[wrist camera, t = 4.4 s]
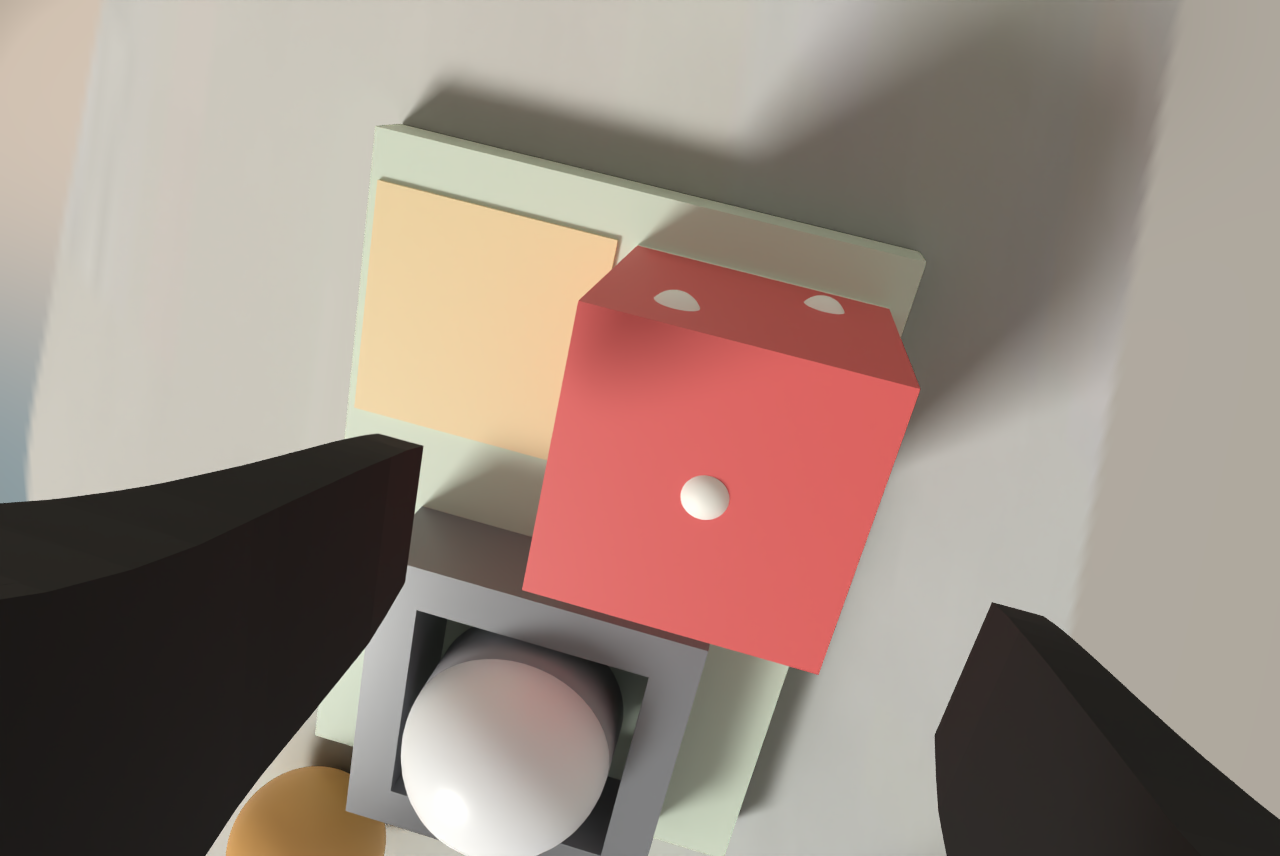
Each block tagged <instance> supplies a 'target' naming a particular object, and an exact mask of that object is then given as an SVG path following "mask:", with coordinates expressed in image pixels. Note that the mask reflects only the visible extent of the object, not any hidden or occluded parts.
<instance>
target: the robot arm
mask: <svg viewBox="0 0 1280 856" xmlns="http://www.w3.org/2000/svg"><path fill="white" fill-rule="evenodd" d="M423 447H424V446H422V445H419V444H415V443H411V442H408V441H404V440H400V439H397V438H393V437H390V436H386V435H382V434H379V433H378V434H369V435H363V436H357V437H353V438H348V439H344V440H340V441H335V442H331V443H328V444H324V445H320V446H316V447H312V448H308V449H305V450H301V451H297V452H293V453H289V454H285V455H282V456H278V457H274V458H270V459H266V460H262V461H259V462H255V463H251V464H247V465H243V466H238V467H234V468H229V469H225V470H220V471H216V472H211V473H207V474H202V475H198V476H193V477H189V478H184V479H180V480H175V481H171V482H166V483H161V484H155V485H150V486H145V487H139V488H133V489H126V490H120V491H114V492H106V493H99V494H92V495H84V496H77V497H70V498H61V499H52V500H41V501H27V502H14V503H0V856H205V855H206V854H207V852H208V851H209V849H210V848H211V846H212V845H213V843H214V842H215V840H216V839H217V837H218V836H219V834H220V833H221V831H222V830H223V828H224V827H225V825H226V824H227V822H228V821H229V819H230V818H231V816H232V815H233V813H234V812H235V810H236V809H237V807H238V806H239V804H240V803H241V802H242V800H243V799H244V798H245V796H246V795H247V794H248V792H249V791H250V790H251V788H252V787H253V786H254V784H255V783H256V782H257V780H258V779H259V778H260V776H261V775H262V774H263V773H264V772H265V770H266V769H267V768H268V767H269V765H270V764H271V763H272V762H273V761H274V759H275V758H276V757H277V756H278V754H279V753H280V752H281V751H282V750H283V748H284V747H285V746H286V745H287V744H288V742H289V741H290V740H291V739H292V737H293V736H294V735H295V734H296V733H297V731H298V730H299V729H300V728H301V726H302V725H303V724H304V723H305V722H306V720H307V719H308V718H309V717H310V716H311V714H312V713H313V712H314V711H315V709H316V708H317V707H318V706H319V705H320V703H321V702H322V701H323V700H324V699H325V697H326V696H327V695H328V694H329V692H330V691H331V690H332V689H333V688H334V686H335V685H336V684H337V683H338V681H339V680H340V679H341V678H342V676H343V675H344V674H345V673H346V671H347V670H348V669H349V668H350V666H351V665H352V664H353V663H354V661H355V660H356V659H357V658H358V656H359V655H360V654H361V653H362V651H363V650H364V649H365V648H366V646H367V645H368V644H369V642H370V641H371V639H372V637H373V636H374V634H375V633H376V631H377V629H378V628H379V626H380V625H381V623H382V621H383V620H384V618H385V617H386V615H387V613H388V611H389V610H390V608H391V606H392V605H393V603H394V601H395V599H396V598H397V596H398V594H399V592H400V591H401V589H402V587H403V586H404V584H405V580H406V573H407V565H408V558H409V550H410V543H411V536H412V528H413V521H414V513H415V506H416V499H417V491H418V484H419V477H420V469H421V462H422V454H423ZM935 759H936V783H937V798H938V811H939V817H940V823H941V828H942V834H943V839H944V844H945V849H946V854H947V856H1280V819H1278V818H1277V817H1276V816H1274V815H1273V814H1272V813H1271V812H1269V811H1268V810H1267V809H1266V808H1264V807H1263V806H1262V805H1260V804H1259V803H1258V802H1257V801H1255V800H1254V799H1253V798H1252V797H1251V796H1249V795H1248V794H1247V793H1246V792H1245V791H1243V790H1242V789H1241V788H1240V787H1239V786H1237V785H1236V784H1235V783H1234V782H1233V781H1231V780H1230V779H1229V778H1228V777H1227V776H1225V775H1224V774H1223V773H1222V772H1221V771H1219V770H1218V769H1217V768H1216V767H1215V766H1213V765H1212V764H1211V763H1210V762H1209V761H1207V760H1206V759H1205V758H1204V757H1203V756H1202V755H1201V754H1199V753H1198V752H1197V751H1196V750H1195V749H1194V748H1193V747H1191V746H1190V745H1189V744H1188V743H1187V742H1186V741H1185V740H1183V739H1182V738H1181V737H1180V736H1179V735H1178V734H1177V733H1175V732H1174V731H1173V730H1172V729H1171V728H1170V727H1169V726H1168V725H1167V724H1165V723H1164V722H1163V721H1162V720H1161V719H1160V718H1159V717H1158V716H1157V715H1155V714H1154V713H1153V712H1152V711H1151V710H1150V709H1149V708H1148V707H1147V706H1146V705H1145V704H1143V703H1142V702H1141V701H1140V700H1139V699H1138V698H1137V697H1136V696H1135V695H1134V694H1132V693H1131V692H1130V691H1129V690H1128V689H1127V688H1126V687H1125V686H1124V685H1123V684H1122V683H1121V682H1120V681H1118V680H1117V679H1116V678H1115V677H1114V676H1113V675H1112V674H1111V673H1110V672H1109V671H1108V670H1107V669H1105V668H1104V667H1103V666H1102V665H1101V664H1100V663H1099V662H1098V661H1097V660H1096V659H1094V658H1093V657H1092V656H1091V655H1090V654H1089V653H1088V652H1087V651H1086V650H1085V649H1083V648H1082V647H1081V646H1080V645H1079V644H1078V643H1077V642H1076V641H1074V640H1073V639H1072V638H1071V637H1070V636H1069V635H1067V634H1066V633H1065V632H1064V631H1063V630H1061V629H1060V628H1059V627H1058V626H1056V625H1055V624H1054V623H1052V622H1051V621H1049V620H1048V619H1047V618H1045V617H1044V616H1040V615H1037V614H1033V613H1029V612H1026V611H1022V610H1019V609H1015V608H1011V607H1008V606H1004V605H1000V604H997V603H993V602H992V604H991V606H990V608H989V611H988V613H987V615H986V618H985V620H984V622H983V625H982V627H981V629H980V632H979V634H978V636H977V639H976V641H975V643H974V645H973V648H972V650H971V652H970V655H969V657H968V659H967V662H966V664H965V666H964V669H963V671H962V673H961V676H960V678H959V680H958V682H957V685H956V687H955V689H954V692H953V694H952V696H951V699H950V701H949V703H948V706H947V708H946V710H945V713H944V715H943V717H942V719H941V722H940V724H939V726H938V729H937V731H936V733H935Z"/></svg>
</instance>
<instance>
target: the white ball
mask: <svg viewBox="0 0 1280 856" xmlns="http://www.w3.org/2000/svg"><path fill="white" fill-rule="evenodd" d="M622 722H623V700H622V695H621V691H620V688H619V685H618V682H617V680H616V678H615V676H614V674H613V672H612V671H611V669H610V667H609V666H607V665H604V664H601V663H597V662H594V661H590V660H587V659H583V658H580V657H576V656H573V655H570V654H566V653H563V652H559V651H556V650H552V649H549V648H545V647H542V646H539V645H535V644H532V643H528V642H525V641H521V640H518V639H514V638H511V637H508V636H504V635H501V634H497V633H494V632H490V631H487V630H483V629H480V628H477V627H471V628H470V629H468V630H466V631H465V632H463V633H462V634H461V635H460V636H459V637H457V638H456V639H455V640H454V642H453V643H452V644H451V645H450V646H449V648H448V649H447V651H446V653H445V654H444V656H443V657H442V659H441V660H440V662H439V664H438V665H437V667H436V668H435V670H434V671H433V673H432V675H431V676H430V678H429V679H428V681H427V682H426V684H425V686H424V687H423V689H422V690H421V692H420V693H419V695H418V697H417V698H416V700H415V702H414V704H413V706H412V708H411V711H410V713H409V715H408V718H407V721H406V725H405V728H404V733H403V738H402V746H401V766H402V776H403V781H404V785H405V788H406V792H407V795H408V797H409V800H410V803H411V805H412V806H413V808H414V810H415V812H416V814H417V815H418V817H419V818H420V820H421V821H422V823H423V824H424V825H425V827H426V828H427V829H428V830H429V831H430V832H431V833H432V834H433V835H434V836H435V837H436V838H437V839H439V840H440V841H441V842H443V843H444V844H445V845H447V846H448V847H450V848H452V849H453V850H455V851H457V852H459V853H461V854H464V855H466V856H537V855H539V854H541V853H543V852H545V851H548V850H550V849H552V848H554V847H555V846H557V845H558V844H560V843H561V842H563V841H564V840H565V839H567V838H568V837H569V836H570V835H571V834H573V833H574V832H575V831H576V830H577V829H578V828H579V827H580V826H581V824H582V823H583V822H584V821H585V820H586V818H587V817H588V816H589V815H590V813H591V811H592V810H593V808H594V807H595V805H596V803H597V801H598V799H599V798H600V796H601V793H602V790H603V788H604V785H605V782H606V779H607V776H608V773H609V769H610V766H611V762H612V759H613V755H614V752H615V748H616V745H617V741H618V738H619V734H620V731H621V727H622Z"/></svg>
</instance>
